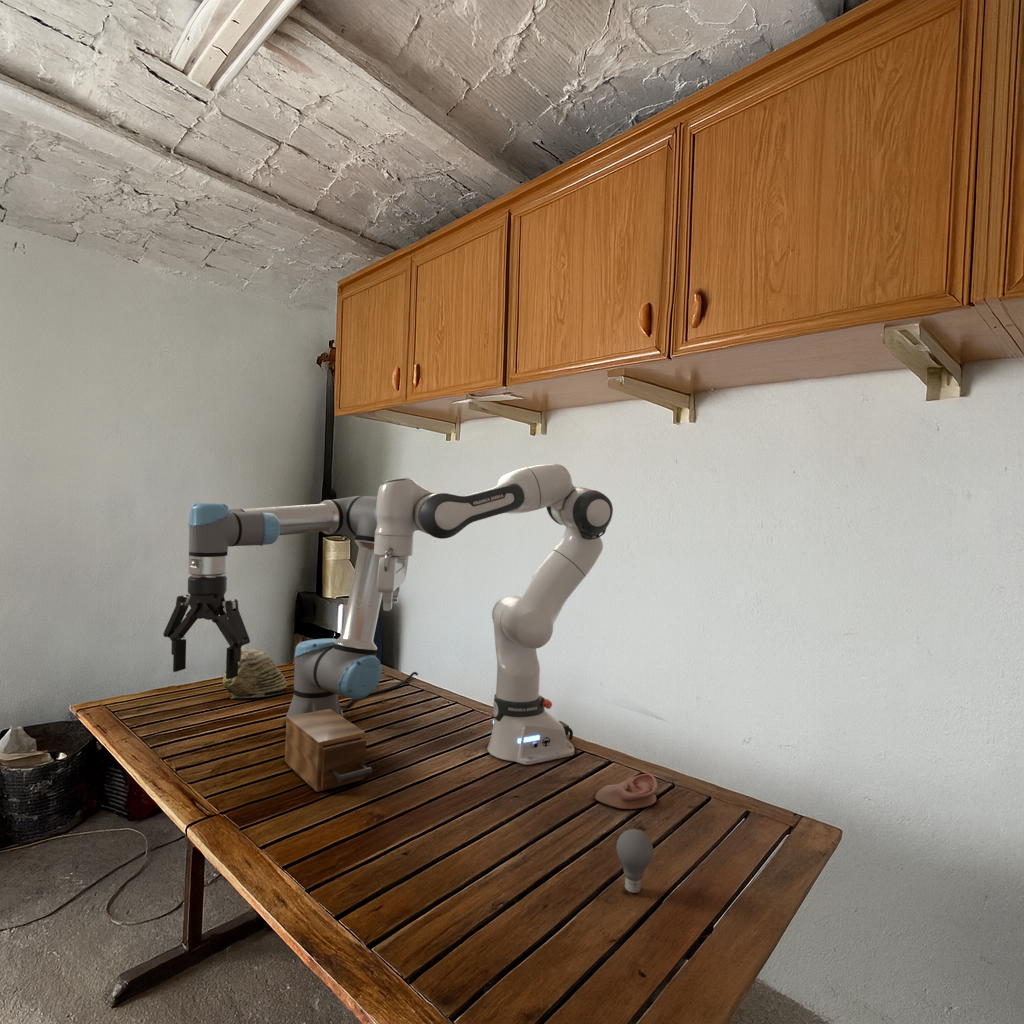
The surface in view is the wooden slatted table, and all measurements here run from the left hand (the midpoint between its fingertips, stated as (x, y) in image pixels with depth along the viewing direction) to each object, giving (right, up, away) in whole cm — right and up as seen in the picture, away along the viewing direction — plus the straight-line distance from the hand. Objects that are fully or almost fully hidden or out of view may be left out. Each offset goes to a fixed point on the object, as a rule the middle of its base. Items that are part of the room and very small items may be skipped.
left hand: (205, 673), depth 136 cm
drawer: (+26, -24, +6) cm, 36 cm away
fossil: (-15, -23, +62) cm, 68 cm away
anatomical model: (+91, -28, +3) cm, 95 cm away
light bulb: (+86, -29, -30) cm, 95 cm away
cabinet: (+22, -25, +11) cm, 35 cm away
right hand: (+38, +13, +11) cm, 41 cm away
